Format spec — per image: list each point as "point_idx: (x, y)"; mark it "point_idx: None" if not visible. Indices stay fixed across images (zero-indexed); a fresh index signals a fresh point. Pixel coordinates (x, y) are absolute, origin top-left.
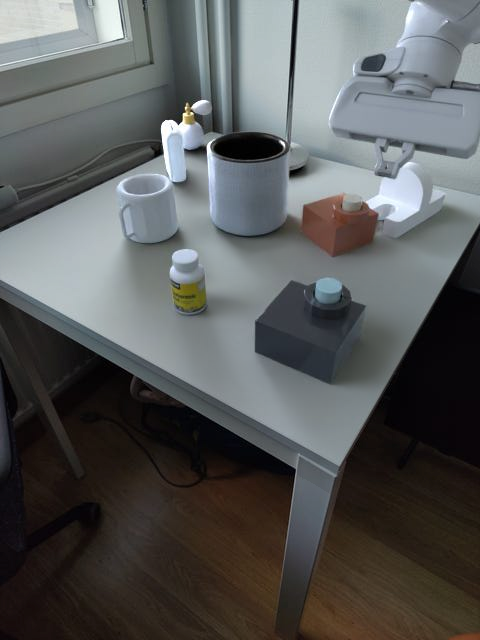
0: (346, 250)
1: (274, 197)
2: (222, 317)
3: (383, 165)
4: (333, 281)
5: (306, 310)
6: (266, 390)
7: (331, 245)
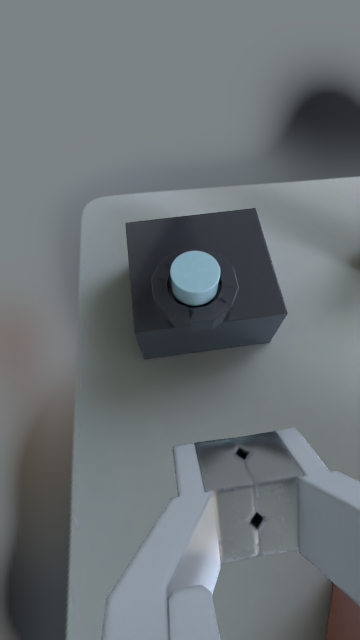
0: (328, 629)
1: None
2: (331, 271)
3: (267, 457)
4: (195, 284)
5: None
6: None
7: None
